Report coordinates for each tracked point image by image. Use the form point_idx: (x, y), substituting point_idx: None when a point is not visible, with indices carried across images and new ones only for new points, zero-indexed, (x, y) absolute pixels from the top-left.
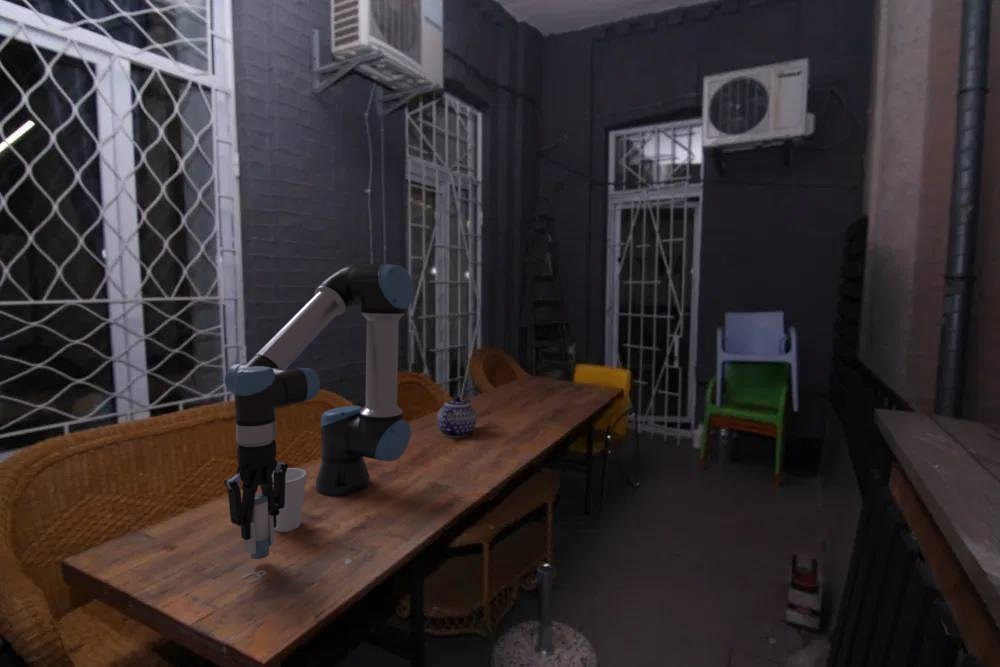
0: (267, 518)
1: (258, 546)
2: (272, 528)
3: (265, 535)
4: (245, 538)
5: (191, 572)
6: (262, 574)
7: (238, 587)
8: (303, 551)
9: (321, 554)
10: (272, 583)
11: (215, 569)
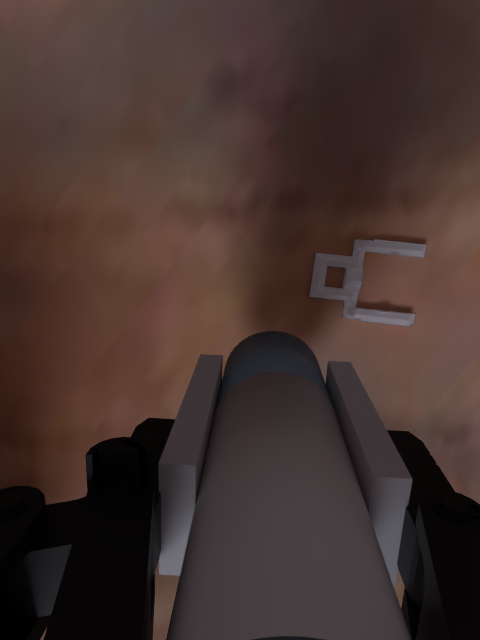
0: (236, 461)
1: (314, 373)
2: (192, 404)
3: (272, 382)
4: (419, 441)
5: None
6: (340, 258)
7: (472, 267)
8: (68, 269)
9: (25, 154)
10: (367, 144)
11: None
